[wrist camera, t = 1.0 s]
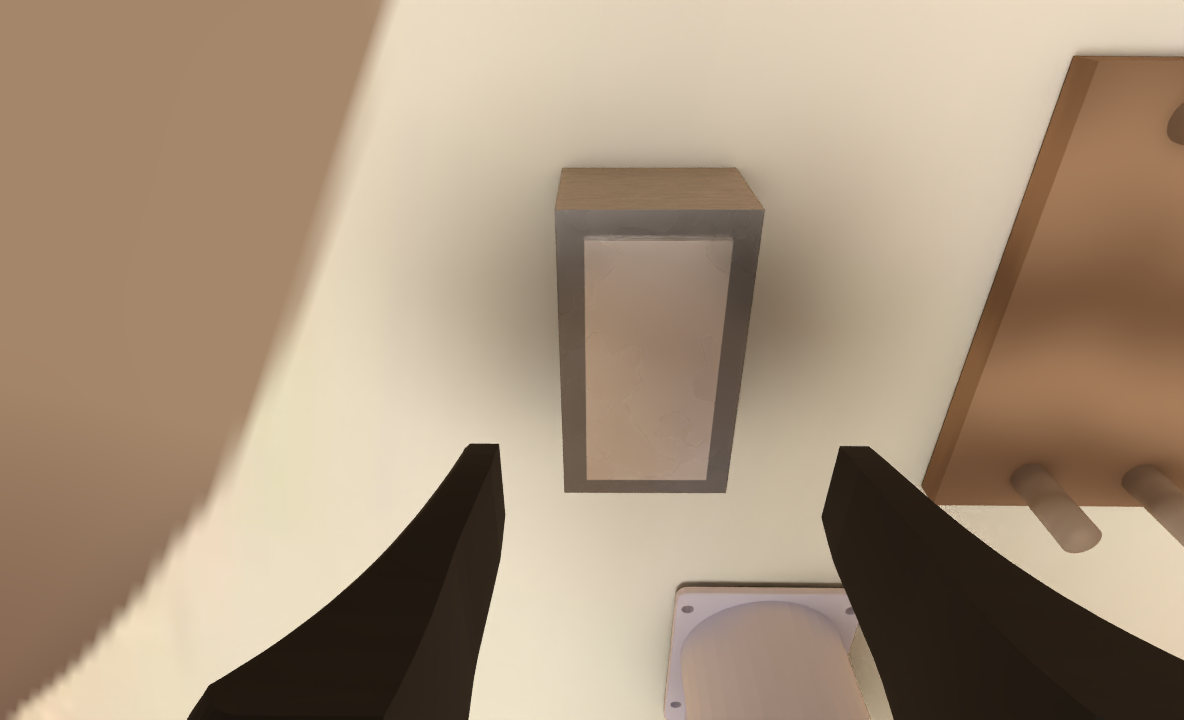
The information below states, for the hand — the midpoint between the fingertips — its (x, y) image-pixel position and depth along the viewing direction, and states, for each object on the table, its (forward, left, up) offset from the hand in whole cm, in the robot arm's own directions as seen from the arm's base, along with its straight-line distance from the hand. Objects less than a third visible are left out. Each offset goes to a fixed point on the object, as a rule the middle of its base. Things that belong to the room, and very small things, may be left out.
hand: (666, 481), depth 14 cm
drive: (0, 0, -9) cm, 9 cm away
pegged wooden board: (0, -16, -8) cm, 18 cm away
